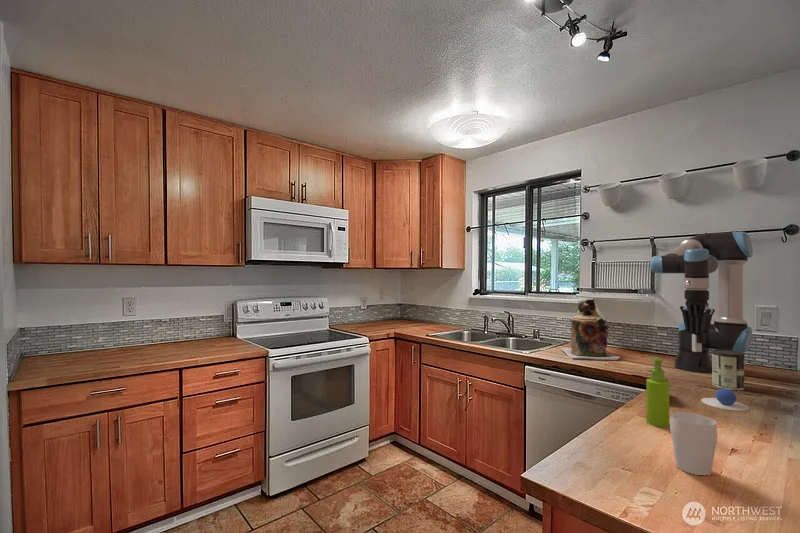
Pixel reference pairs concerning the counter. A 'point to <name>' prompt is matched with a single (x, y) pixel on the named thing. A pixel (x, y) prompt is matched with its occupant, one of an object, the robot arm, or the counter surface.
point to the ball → (726, 396)
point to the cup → (693, 442)
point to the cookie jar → (589, 334)
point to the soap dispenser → (657, 396)
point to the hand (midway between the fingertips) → (696, 351)
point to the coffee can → (728, 369)
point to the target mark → (717, 404)
